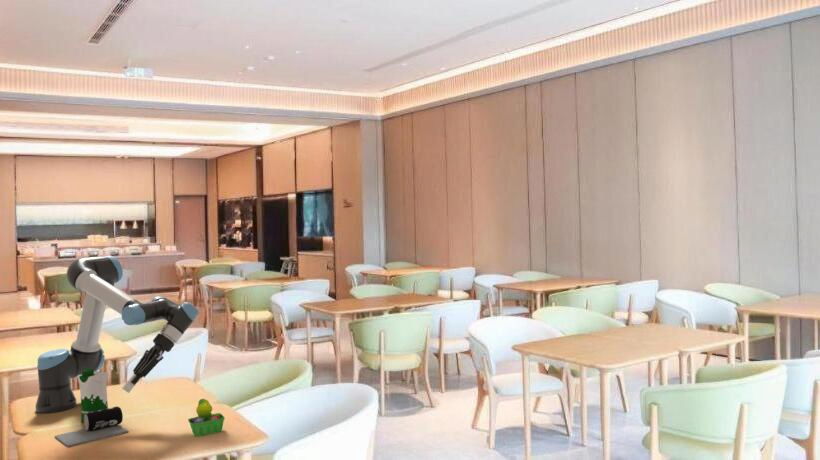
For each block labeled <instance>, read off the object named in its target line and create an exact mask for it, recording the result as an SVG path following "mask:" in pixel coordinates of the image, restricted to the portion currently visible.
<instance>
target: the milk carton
mask: <svg viewBox="0 0 820 460" xmlns="http://www.w3.org/2000/svg"><path fill="white" fill-rule="evenodd" d="M108 373H109V372H106V371H105V372H104V371H96V372H94V370H93V369H86V370H82V375H79V376H77V377H76V378H77V381H78V385H79V389H80V390H79V392H80V393H79V394H80V407H81V409H80V410H81V419H80V420H81V422H80V423H82V424H84V415H85V414H87V413H89V412H93V411H97V410H102V409H107V408H109V405H108V392H107V391H108V390H107V389H108V387H107V381H108V380H107V379H108Z"/></svg>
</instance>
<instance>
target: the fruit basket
mask: <svg viewBox="0 0 820 460" xmlns="http://www.w3.org/2000/svg"><path fill="white" fill-rule="evenodd" d="M212 411H213V406H212V404H211V403H210V402H209V400H207V399H206V398H201V399H199V400H198V405H197V408H196V414H197V416H196V417H191V418H188V419H187V420H188V423H189V425H190V428H191V431H192V434H193V436H195V437H201V436H206V435H211V434H212V435H213V434H217V433H222V431H223V425H224V421H225V418H226V417H225V416H224V415H223V414H222V413H221V412H217V413H212Z"/></svg>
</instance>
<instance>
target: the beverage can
mask: <svg viewBox="0 0 820 460" xmlns="http://www.w3.org/2000/svg"><path fill="white" fill-rule="evenodd" d="M123 416H124V415H123V411H122V408H121V407H119V406H112V407H108V408H107V409H102V410H97V411H93V412H89V413H87V414H85V415H84V423H83V424H84V429H86V430H91V431H92V430H96V429H101V428H105V427H110V426H114V425H120V424H121V423H123V418H124V417H123Z"/></svg>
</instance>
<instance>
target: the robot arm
mask: <svg viewBox="0 0 820 460" xmlns="http://www.w3.org/2000/svg"><path fill="white" fill-rule="evenodd" d="M123 270H124V269H123V267H122V264H121V261H119V259H118V258H116V256H113V255H101V256H93V257H81V258H78V259H75V260H74V261H73V262H71V263H70V265H68V267H67V271H66V279H67V281H68V283H69V285H70V286H71V287H73V288H74V289H75V290H77V291H78V292H81V293H85V296H84V301H83V302H84V303H83V306H82V312H81V316H80V321H79V326H78V331H77V336H76V340H74V341H72V343H71V345H70V350H69V349H67V348H58V349H51V350H50V351H46V352H44V353H41V354H40V355H39V356H38V358H37V366H36V369H37V375H38V378H37V379H38V386H39V387H38V396H37V400H36V402H35V412H36V413H39V414H40V413H42V414H45V413H47V414H49V413H56V412H62V411H67V410H69V409H70V410H71V409H73V408H75V407H76V406H77V403H78V402H77V397H76V395H75V393H74V391H73V389H72V385H71V384H72V383H71V379H74V378H77V376H79V375H82V370H86V369H93V370H94V372H99V370H101V369H102V367H103V366H104V362H105V358H106V357H105V354H104V353H105V352H104V350H103V348H102V346H101V344H100V343H99V340H100V336H101V330H102V325H103V322H104V321H103V320H104V317H105V311H106V306H107V307H109V308H110V309H111V310H113V311H115V312H116V313H118V314H120V315H121V319H122V321H123V322H124V324H125V325H127V326H139V325H142V324H146V323H150V322H151V323H152V322H157V321H160V320H165V321H167V323H166V324H163V326H162V328H161V330H160V331H159V333H157V335H156V336H155V337H154V338H153V340H152V342H153V344H154V345H153V346H152V347H150V349H149V350H148V349H146V350H145V352H144V354H143V355H142V356H141V358H140V359H139V361H138V362H137V363H136V366H135V367H134V368H133V370H132V372H133V374H132V375H131V376H130V377H129V379H128V380H127V381H126V382H125V384H124V385H123V386H122V387H121V389H122V390H124V391H125V392H126V393H128V394H129V393H131V391H132V390H133V389H134V387H136V385H137V383H138V382H139V381H140V380H141V379H142V378H146V376H148V375H149V373H150V372H151V371H152V370H153V369H154V368H155V367H156V366H157V365H158V364H159V363H160V362H161V361H162V360H163V359H164V356H163V355H164V353H165V352H166V353H169V352H171V350H172V349H173V348H174V347H175V344H177V343H178V342H179V341H180V339H181V338H182V336H183V335H184V333H185V332H186V331H187V330H188V329H189V328H190V327H191V325H192V324H193V323H195V320H196V318H197V317H198V316H199V314H200V313H199V312H200V311H199V310H198V308H197V307H196V306H195V305H193V304H191V303H190V302H188V301H184V302H182V303H181V304H178V303H176V302H174V301H172V300H171V299H168V298H166V297H164V296H161V295H158V296H155V297H153V298H152V299H151V300H150V302H148V301H147V302H144V303H142V302H141V301H139V300H137V299H136V298H134V297H132V296H131V295H129V294H127V293H126V292H124V291H122V290H121V289H120V288H118V287H116V286H115V284H116V283H118V282H119V281H122V278H123V275H124V273H123Z"/></svg>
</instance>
